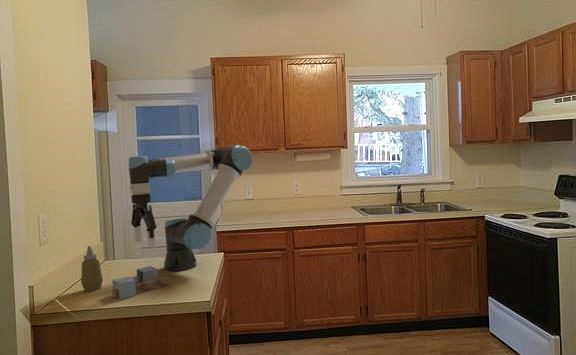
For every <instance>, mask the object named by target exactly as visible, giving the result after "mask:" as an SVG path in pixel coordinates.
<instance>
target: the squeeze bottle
mask: <svg viewBox="0 0 576 355" xmlns="http://www.w3.org/2000/svg"><path fill="white" fill-rule="evenodd" d="M93 252H94V251H93V249H92V246H91V245H89V246H87V249H86V254H85V255H84V256H83V261H82V262H81V274H80V275H81V278H80V279H81V280H80V281H81V282H80V284H81V286H82V288H83V290H84V291H85V292H88V293H89V292H95V291H99V290H100V289H101V288H102V286H103V285H102V284H103V280H104V279H103V276H102V275H103V274H102V268H101V264H100V260H99V259H97V254H96V253H93Z"/></svg>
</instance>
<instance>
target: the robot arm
mask: <svg viewBox="0 0 576 355" xmlns="http://www.w3.org/2000/svg"><path fill="white" fill-rule="evenodd" d="M252 163H253V156H252V153H251V151H250V150H249V149H248V148H247V147H245V146H243V145H235V146H223V147H219V148H214V149H211V150H205V151H204V152H203V153H196V154H185V155H177V156H170V157H162V158H155V159H148V157H147V156H146V155H140V156H130V157H129V158H128V172H129V173H128V174H129V181H130V182H129V183H130V186H129V189H130V192H131V196H130V198H131V203H132V212H131V213H132V214H131V220H130V221H131V223H130V224H131V226H132V227H133V233H134V243H135V244H136V243H141V242H143V239H142V227H141V226H142V224H141V222H142V219H143V222H144V223H145V226H146V229H145V231H146V236H147V238H146V239H147V246H148V248H149V247H155V246H156V240H155V239H156V237H155V229H157V225H156V220H155V217H154V214H153V209H152V208H153V207H152V205H148V203H150V202H151V201H152V200H151V193H150V192H151V187H150V186H151V185H150V179H154V178H156V179H157V178H164V177H166V178H168V177H172V176H174V175H175V174H177V173H182V172H183V173H184V172H191V171H199V170H205V169H206V170H207V171H211V170H212V171H213V170H218V171H217V173H216V175H215V176H214V178H213V181H212V182H211V184H210V186H209V187H208V189H207V191H206V193H205V195H204V196H203V197H202V200H200V201H201V202H200V203H199V205H198V207H197V208H196V210H195V212H194V213H191V214H189V216H188V217H180V218H173V219H168V220H166V221H165V223H164V232H165V234H164V235H165V245H166V254H165V257H164V260H163V261H164V262H163V269H164V270H165V271H172V272H173V271H176V272H178V271H184V270H189V269H192V268H195V267H197V265H198V264H197V262H198V261H197V259H196V255H195V254H194V251H193V250H202V249H204V248H205V247H207V246H208V245H209V244H210V242H211V240H212V235H213V234H212V228H213V220H214V218H215V216H216V215H217V213H218V211H219V209H220V207H221V205H222V203H223V202H224V200H225V199H226V196H227V194H228V192H229V190H230V189H231V187H232V185H233V183H234V182H235V180H236V179H240V177H241V176H242V174H243V172H244V171H247V170H249V169H250V168H251V166H252Z"/></svg>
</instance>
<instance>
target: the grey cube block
mask: <svg viewBox="0 0 576 355" xmlns="http://www.w3.org/2000/svg"><path fill="white" fill-rule="evenodd" d="M158 270H159V269H158V268H157V267H153V266H152V265H150V266H144V267H139V268H136V278H137V283H141V282H145V281H150V280H154V279H158V278H159V271H158Z"/></svg>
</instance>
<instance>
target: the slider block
mask: <svg viewBox="0 0 576 355" xmlns="http://www.w3.org/2000/svg"><path fill="white" fill-rule="evenodd" d="M136 282H137V281H136V279H135V278H133V277H130V276H128V275H127V276H124V277H119V278H114V279H112V289H117V290H118V291H119V298H118V299H120V300H122V299H126V298H131V297H135V296H137V294H136V287H135V286H136V284H137V283H136Z"/></svg>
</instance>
